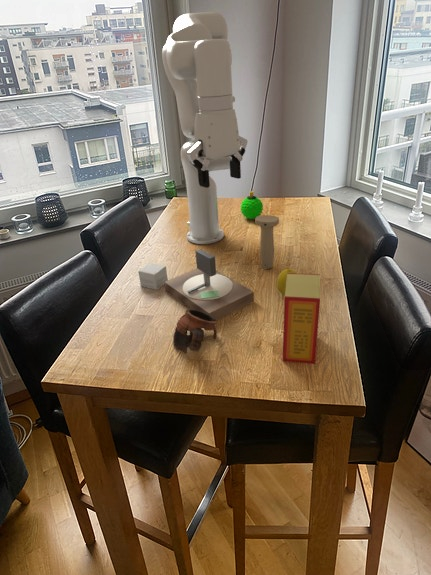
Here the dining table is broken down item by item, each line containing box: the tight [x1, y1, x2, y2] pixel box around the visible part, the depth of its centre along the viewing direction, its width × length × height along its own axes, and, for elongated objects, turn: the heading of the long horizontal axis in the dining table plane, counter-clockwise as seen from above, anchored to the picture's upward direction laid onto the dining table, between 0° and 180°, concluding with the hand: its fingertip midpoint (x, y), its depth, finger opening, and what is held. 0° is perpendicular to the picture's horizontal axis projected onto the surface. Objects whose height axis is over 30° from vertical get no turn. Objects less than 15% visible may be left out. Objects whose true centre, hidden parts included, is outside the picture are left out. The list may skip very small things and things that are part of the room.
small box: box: [137, 262, 169, 291], centre depth 117 cm, size 6×6×5 cm
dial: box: [183, 274, 233, 300], centre depth 109 cm, size 13×13×1 cm
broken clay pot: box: [172, 308, 218, 354], centre depth 93 cm, size 12×10×8 cm
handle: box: [254, 214, 280, 270], centre depth 118 cm, size 5×6×15 cm
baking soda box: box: [282, 272, 321, 365], centre depth 87 cm, size 10×6×16 cm
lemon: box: [276, 268, 297, 296], centre depth 106 cm, size 6×6×8 cm
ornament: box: [240, 190, 264, 220], centre depth 152 cm, size 8×8×10 cm
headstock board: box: [164, 268, 255, 322], centre depth 110 cm, size 20×14×3 cm
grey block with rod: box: [187, 248, 217, 293], centre depth 105 cm, size 6×7×9 cm
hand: (220, 182), depth 101 cm, fingers open, 9 cm apart
